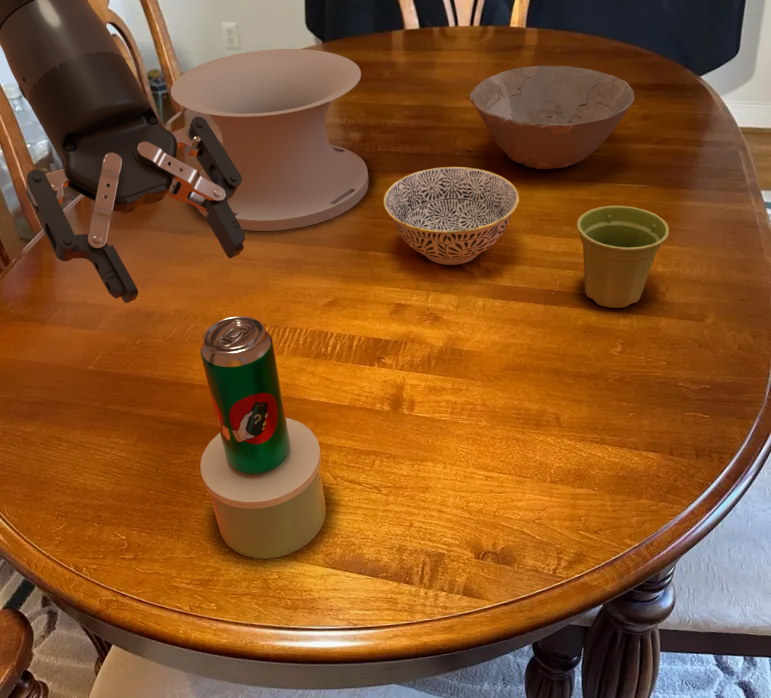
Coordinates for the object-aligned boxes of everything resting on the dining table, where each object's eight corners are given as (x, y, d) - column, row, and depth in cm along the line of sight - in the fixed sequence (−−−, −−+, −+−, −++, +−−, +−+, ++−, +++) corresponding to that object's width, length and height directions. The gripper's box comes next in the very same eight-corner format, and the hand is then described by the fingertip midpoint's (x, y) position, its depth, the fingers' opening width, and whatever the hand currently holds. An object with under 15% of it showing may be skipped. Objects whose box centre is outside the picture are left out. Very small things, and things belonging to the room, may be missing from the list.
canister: (222, 573, 63) (206, 514, 58) (210, 487, 70) (195, 430, 66) (339, 544, 64) (331, 484, 60) (316, 463, 72) (307, 405, 67)
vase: (165, 224, 108) (137, 112, 99) (232, 147, 127) (214, 47, 118) (342, 237, 103) (331, 120, 94) (385, 154, 122) (380, 50, 113)
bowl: (488, 298, 91) (489, 240, 86) (364, 270, 97) (359, 214, 92) (533, 232, 102) (537, 178, 97) (419, 210, 108) (418, 158, 103)
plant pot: (571, 268, 95) (578, 202, 89) (654, 274, 93) (666, 207, 87) (567, 313, 88) (575, 245, 82) (657, 321, 86) (671, 251, 80)
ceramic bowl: (647, 143, 121) (657, 77, 115) (588, 207, 106) (596, 136, 100) (514, 117, 131) (517, 55, 125) (443, 173, 116) (442, 106, 110)
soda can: (304, 445, 64) (284, 324, 56) (265, 487, 60) (239, 364, 53) (253, 425, 66) (229, 305, 58) (213, 465, 62) (182, 343, 55)
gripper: (-25, 77, 51) (100, 299, 51) (174, 26, 58) (284, 221, 58) (-22, 134, 58) (89, 330, 58) (156, 81, 64) (255, 256, 64)
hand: (186, 275), depth 58 cm, fingers open, 8 cm apart
